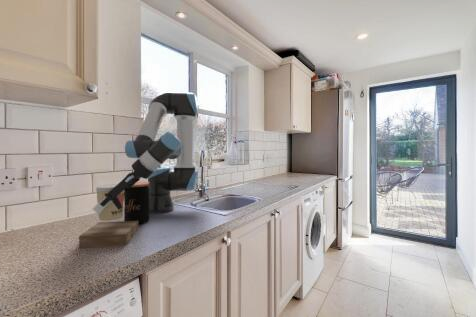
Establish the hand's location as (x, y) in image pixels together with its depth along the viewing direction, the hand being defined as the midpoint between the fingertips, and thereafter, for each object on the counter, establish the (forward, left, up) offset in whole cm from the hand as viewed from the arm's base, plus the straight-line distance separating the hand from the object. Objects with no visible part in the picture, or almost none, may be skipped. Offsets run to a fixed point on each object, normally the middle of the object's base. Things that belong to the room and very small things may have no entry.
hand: (101, 207), depth 85 cm
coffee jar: (-19, +7, -12) cm, 24 cm away
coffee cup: (0, +3, -4) cm, 5 cm away
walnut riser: (0, +3, -12) cm, 12 cm away
